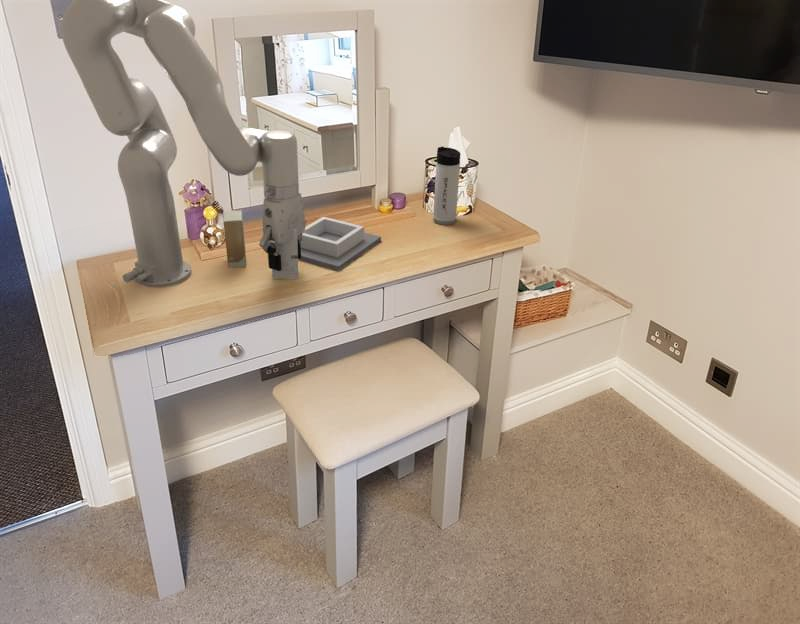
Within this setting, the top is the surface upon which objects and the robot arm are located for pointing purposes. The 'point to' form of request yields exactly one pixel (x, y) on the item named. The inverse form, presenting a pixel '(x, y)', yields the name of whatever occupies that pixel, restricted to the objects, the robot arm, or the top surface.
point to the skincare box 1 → (234, 238)
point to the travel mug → (446, 185)
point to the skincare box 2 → (288, 259)
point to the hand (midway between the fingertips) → (285, 262)
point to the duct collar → (334, 243)
